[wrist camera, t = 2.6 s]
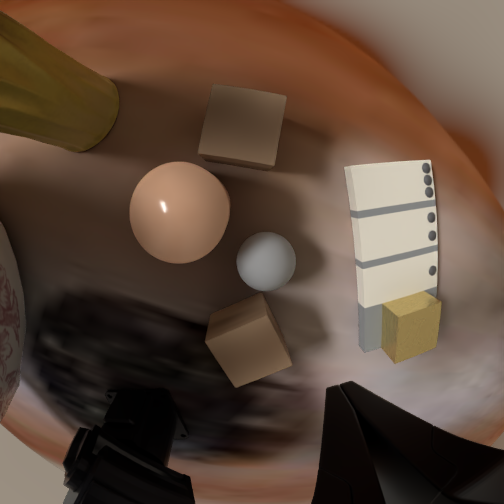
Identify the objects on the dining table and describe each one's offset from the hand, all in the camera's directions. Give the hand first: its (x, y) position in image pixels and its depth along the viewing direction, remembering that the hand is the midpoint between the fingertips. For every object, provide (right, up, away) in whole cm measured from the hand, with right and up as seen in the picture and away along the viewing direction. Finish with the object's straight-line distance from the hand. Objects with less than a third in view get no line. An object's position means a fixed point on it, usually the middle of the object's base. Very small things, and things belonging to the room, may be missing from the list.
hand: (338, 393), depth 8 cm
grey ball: (-2, +4, +11) cm, 12 cm away
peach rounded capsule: (-7, +7, +10) cm, 14 cm away
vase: (-15, +15, +9) cm, 23 cm away
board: (+8, +4, +12) cm, 15 cm away
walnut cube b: (-3, +12, +10) cm, 16 cm away
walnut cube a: (-3, -1, +12) cm, 13 cm away
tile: (+9, -1, +12) cm, 15 cm away
